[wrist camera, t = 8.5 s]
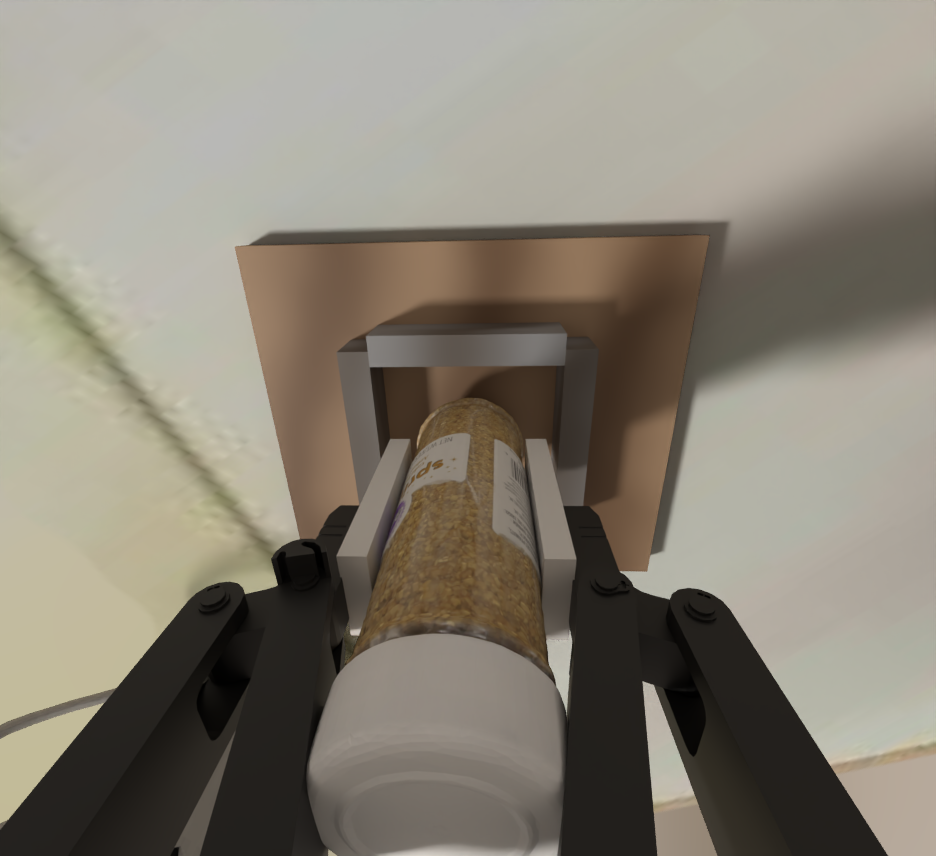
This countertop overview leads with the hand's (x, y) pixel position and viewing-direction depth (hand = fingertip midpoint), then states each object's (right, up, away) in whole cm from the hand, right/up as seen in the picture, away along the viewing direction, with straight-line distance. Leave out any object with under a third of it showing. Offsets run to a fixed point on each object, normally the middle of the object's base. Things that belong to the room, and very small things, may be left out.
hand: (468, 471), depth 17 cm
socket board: (0, +2, +4) cm, 4 cm away
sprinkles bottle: (0, +1, +2) cm, 2 cm away
